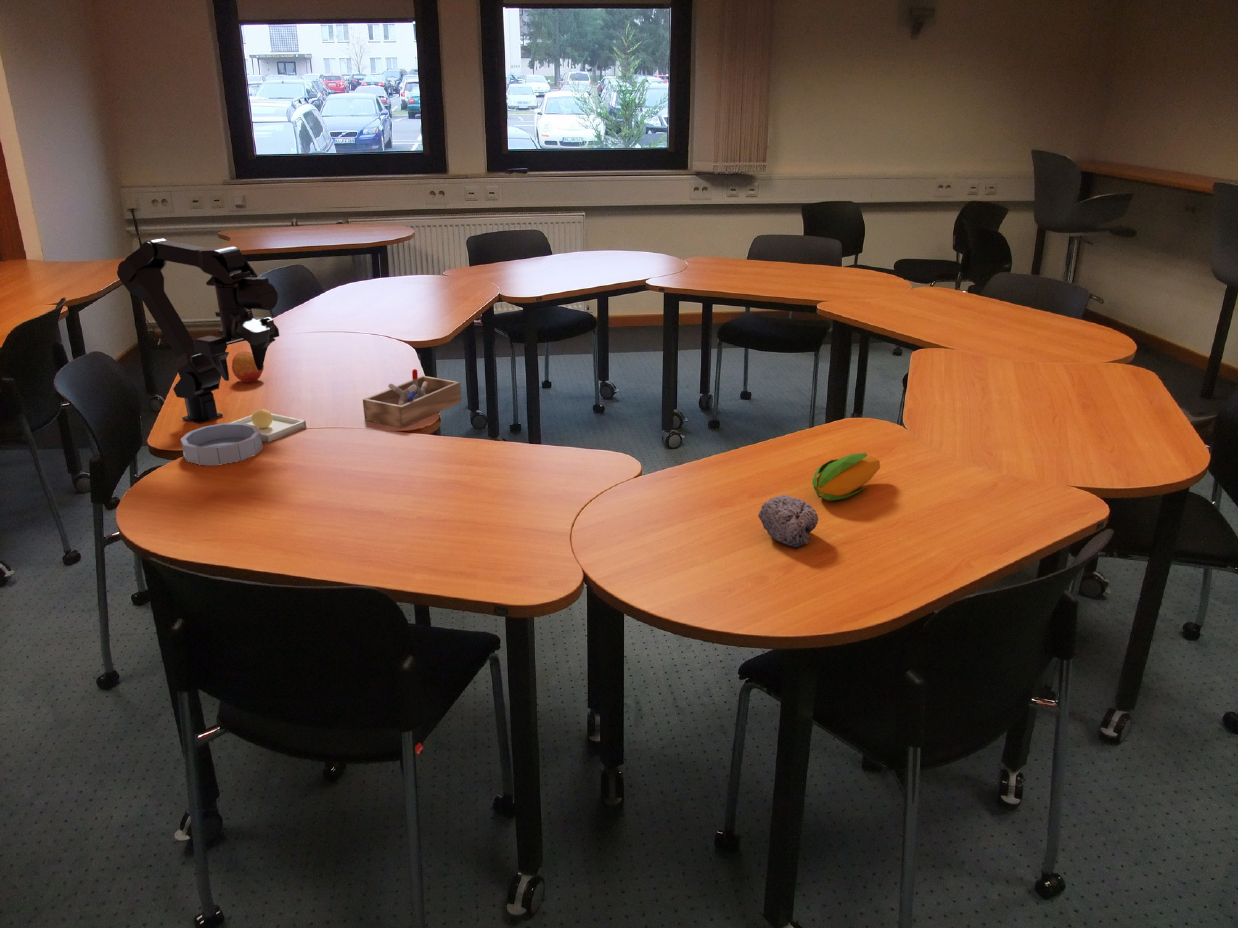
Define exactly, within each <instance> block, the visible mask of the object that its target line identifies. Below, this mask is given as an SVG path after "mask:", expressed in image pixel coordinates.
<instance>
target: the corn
mask: <svg viewBox="0 0 1238 928" xmlns="http://www.w3.org/2000/svg"><path fill="white" fill-rule="evenodd" d="M880 469H881V464H880V459H878V458H876V457H873V456H868V453H866V452H862V453H861V452H859V453H851V454H848V455H846V456H842V457H841V458H836V459H831V460H828V461H827V462H826V463H824V464H822V465H821V466H819V467H818V468H817V469H816V470H815V471H814V475H813V477H812V480H811V484H812V485H813V490H814V492H815V494H816V495H817V497H818V498H822V499H823V500H826V501H828V502H832V501H838V500H843V499H848V498H850V497H853V495H855V494H857V493H859V492H861V491H862V490H864V489H865V488H867V487H868V485H866V486H864V485H865V484H866V483H868V482H869V481H871V479H872V478H873V477H874V476H875V474H877V473H878V471H879V470H880Z"/></svg>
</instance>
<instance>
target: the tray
mask: <svg viewBox="0 0 1238 928" xmlns="http://www.w3.org/2000/svg"><path fill="white" fill-rule="evenodd" d="M270 413H271V412H270ZM252 415H253V414H251V415H247V416H245V417H242V418H240V419H239V418H238V419H237V420H234V421H231V422H230V423H245V424H249V425H254V424H253V422H252ZM271 415H272V418H273V420H272V423H271V425H270V426H269V427H267V428H258V427H257V428H258V429H259V431H260V434H261V440H262V442H264V441H265V443H271V442H273V441H272V440H274V441H275V440H279V439H280V438H283V437H286V436H288V435H291V434H293V433H296V432H298V431H300V430H302V429H306V428H307V423H306V422H307V421H306V420H304V419H299V418H295V417H290V416H286V415H281V414H276V413H271ZM254 426H255V425H254ZM270 441H271V442H270Z"/></svg>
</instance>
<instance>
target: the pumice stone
mask: <svg viewBox="0 0 1238 928" xmlns="http://www.w3.org/2000/svg"><path fill="white" fill-rule="evenodd" d="M757 515H758V516H757V517H758V518H759V520H760V522H761V524H762V527H763V529H764V530H766V533H767V534H768V535H769V536H770V537H771V538H773V540H774V541H777V542H779V543H782V544H783V545H786V546H788V547H790V548H791V547H794V548H796V549H797V548H798V549H800V548H801V547H802V546H803V547H804V546H805V545H807V544H808V543H809V542H810V536H809V535H810V533H811V532H812V531H813V530H815V529H816V527H817V525H818V522H819V516H818V513H817V512H816V510H815V508H814V507H813V506H812V505H810V503H808V502H806V501H805V500H803V499H801V498H799V497H792V496H791V495H787V494H781V495H779V496H774V497H771V498H770V499H769V500H767V501H766V502H764V503H763V504H761V509H760V510H759V512H758V514H757Z"/></svg>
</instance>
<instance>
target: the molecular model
mask: <svg viewBox="0 0 1238 928" xmlns="http://www.w3.org/2000/svg"><path fill="white" fill-rule="evenodd" d="M411 374H412V375H411V376H412V380H413V385H412V386H410V387H409V388H407V389H406V390H404V391H403V390H401V389H400V388H398V387H397V386H398V385H395V384H394V383H391V382H390V383H389V384H388V389H392V390H393V391H395V392H396V393H398V394H399V395H400V399H399V402H398V405H404V401H405V399H407V400H408V402H411V401H413V400H416V399H418V398H420V397H423V396H425V395H427V394H425V391H426V388H427V385H428V383H427V382H423V384H422V387H421V389H420V388H419V386H418V377H419V376H418V370H417V369H416V368H414V369H412V371H411ZM416 392H417V393H418V394H416V395H415V393H416ZM409 393H410V394H409Z"/></svg>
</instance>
